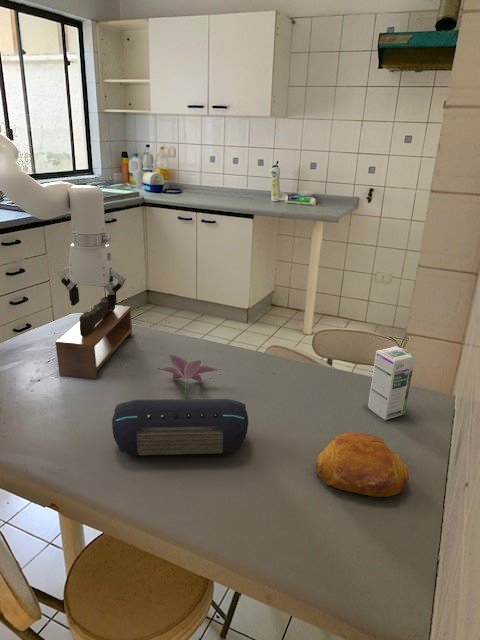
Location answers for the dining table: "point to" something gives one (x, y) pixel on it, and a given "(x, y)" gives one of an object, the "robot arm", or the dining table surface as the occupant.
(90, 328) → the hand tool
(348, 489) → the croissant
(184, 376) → the lily
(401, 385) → the syrup box
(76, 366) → the shelf stand
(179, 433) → the portable speaker
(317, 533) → the dining table surface
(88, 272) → the robot arm
